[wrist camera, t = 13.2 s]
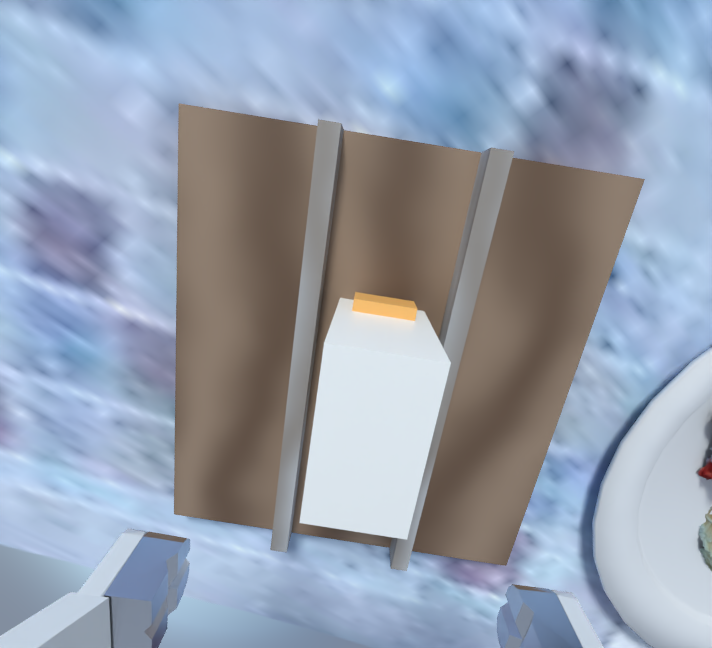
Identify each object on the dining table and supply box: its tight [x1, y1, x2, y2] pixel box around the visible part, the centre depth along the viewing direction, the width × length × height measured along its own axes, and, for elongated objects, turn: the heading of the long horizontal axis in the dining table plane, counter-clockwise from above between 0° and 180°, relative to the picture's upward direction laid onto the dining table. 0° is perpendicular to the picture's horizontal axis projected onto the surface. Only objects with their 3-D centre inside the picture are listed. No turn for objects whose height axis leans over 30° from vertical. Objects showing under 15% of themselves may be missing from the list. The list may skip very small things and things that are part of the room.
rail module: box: [299, 292, 451, 540], centre depth 18 cm, size 4×9×7 cm, turn 171°
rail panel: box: [174, 104, 645, 571], centre depth 21 cm, size 22×24×3 cm
